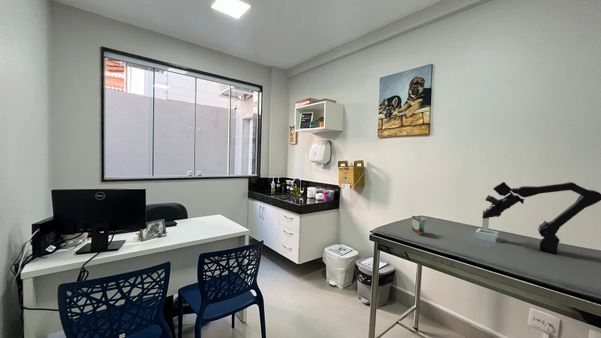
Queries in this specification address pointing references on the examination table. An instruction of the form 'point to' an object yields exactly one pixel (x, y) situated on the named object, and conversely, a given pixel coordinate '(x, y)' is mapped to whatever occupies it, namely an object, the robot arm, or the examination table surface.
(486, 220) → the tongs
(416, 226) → the food container
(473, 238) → the instrument mat
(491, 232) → the holder
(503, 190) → the robot arm
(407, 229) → the examination table surface
